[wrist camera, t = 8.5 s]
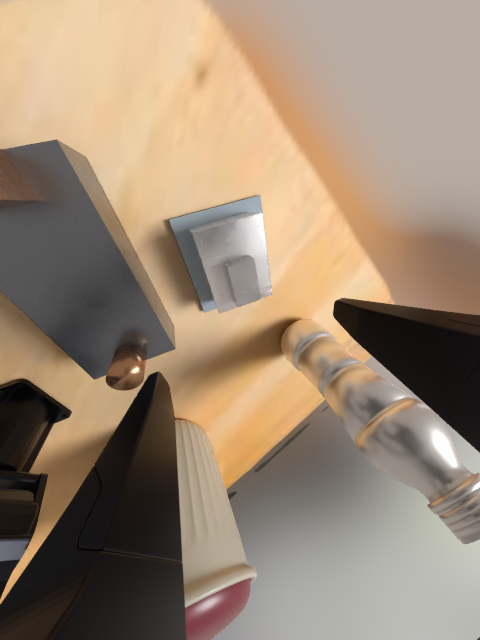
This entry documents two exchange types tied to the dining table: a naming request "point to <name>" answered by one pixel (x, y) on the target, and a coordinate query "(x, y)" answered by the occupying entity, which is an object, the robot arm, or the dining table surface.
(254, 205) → the rubber pad
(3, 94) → the dining table surface
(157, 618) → the robot arm
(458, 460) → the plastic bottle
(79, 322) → the body
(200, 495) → the canister
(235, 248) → the lever cap
